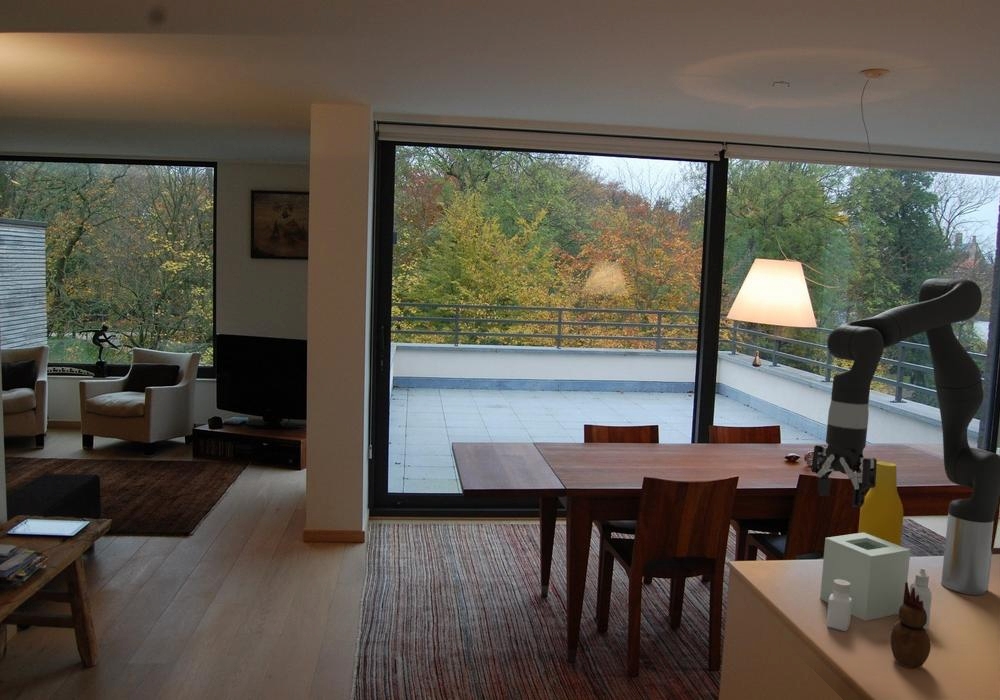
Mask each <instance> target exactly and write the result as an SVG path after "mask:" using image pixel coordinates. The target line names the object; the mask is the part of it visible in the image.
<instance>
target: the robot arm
mask: <svg viewBox="0 0 1000 700" xmlns="http://www.w3.org/2000/svg"><path fill="white" fill-rule="evenodd" d="M982 300H983V294H982V291H981V288H980V286H979V284H977V283H976V282H974V281H973V280H969V279H965V278H943V277H941V278H938V277H936V278H934V277H933V278H928V279H926V280H925V281H924V282H923V283H922V284H921V286H920V288H919V291H918V302H916V303H910V304H904V305H900V306H896V307H893V308H889V309H888V310H885V311H882V312H881V313H879V314H877V315H874V316H871V317H868V318H862V319H858V320H854V321H849V322H846V323H843V324H842V323H841V324H840V325H838V326H837V327H835V328H834V329H833V330H832V331H831V333H830V334H829V335H828V338H827V350H828V351H829V352H830V354H831V355H832V356H834V357H835V358H837V359H840V360H845V361H852V362H853V364H852V366H851V367H850V369H849V370H848V371H841V372H837V373H835V374H834V376H833V379H832V387H831V398H830V403H829V408H828V415H827V424H826V425H827V427H826V438H825V443H826V444H827V445H826V444H816V445H815V446H814V447H813V454H812V460H811V461H812V462H811V467H810V470H811V472H812V473H815V474H816V475H817V478H818V483H817V491H818V495H819V496H822V497H827V496H829V495H830V489H831V487H830V486H831V478H830V476H831V475H833V473H834V472H840V473H842V474H843V475H846V476H847V478H848V479H849V480H851V483H852V485H853V490H852V499H851V507H854V508H861V506H862V505H863V504H864V500H865V496H866V490H868V489H870V488H874V487H875V485H876V465H877V462H878V461H877V458H875V457H864V453H863V452H864V449H865V448H866V444H867V437H868V436H867V434H868V426H869V402H870V394H871V393H870V392H871V390H870V389H871V383H872V380H873V379H874V376H875V374H876V371H877V369H878V367H879V363H880V360H881V359H882V356H883V353H884V349H886V348H890V347H892V346H894V345H897V344H899V343H900V342H903V341H906V340H907V339H909V338H912V337H914V336H916V335H919V334H921V333H924V332H925V335H926V338H927V343H928V347H929V351H930V358H931V364H932V368H933V377H934V384H935V385H934V386H935V391H936V398H937V402H938V407H939V413H940V420H941V429H942V431H941V432H942V444H943V445H942V448H943V449H942V450H943V466H944V471H945V476H946V477H947V479H948V480H949V481H950V483H953V484H956V485H958V486H961V487H962V486H963V487H966V488H970V489H972V494H971V497H969V498H962V499H961V498H959V499H955V500H954V499H953V500H951V501H950V502H949V506H948V514H947V522H946V523H947V525H946V533H945V543H944V552H943V562H942V572H941V582H940V583H941V585H942V586H943V587H945V588H947V589H949V590H952V591H955V592H958V593H962V594H967V595H973V596H974V595H975V596H977V595H984V594H986V593H987V590H989V584H990V576H991V575H990V573H991V564H992V556H993V551H992V549H991V548H992V541H993V539H992V538H993V530H994V521H995V515H996V512H997V509H998V506H999V501H1000V455H999V454H997V453H995V452H992V451H988V450H984V449H978V448H974V447H970V445H969V441H968V440H969V439H968V429H969V425H970V424H971V422H972V421H973V419H974V417H975V416H976V414H977V413H978V412H979V410H980V408H981V407H982V405H983V402H984V389H983V388H984V385H983V381H982V380H983V378H982V373H981V370H980V368H979V366H978V364H977V363H976V362H975V360H974V359H973V357H972V356H971V355H970V353H968V352H967V350H966V348H965V347H964V346H963V345H962V344H961V343H960V340H959V339H958V338H957V336H956V334H955V333H954V330H953V327H952V324H956V323H959V322H963V321H968V320H970V319H972V318H974V317H975V316H976V315H977V313H978V312H979V310H980V309H981V305H982V302H983V301H982ZM826 459H827V460H826Z"/></svg>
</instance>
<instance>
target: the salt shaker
mask: <svg viewBox="0 0 1000 700" xmlns="http://www.w3.org/2000/svg"><path fill="white" fill-rule="evenodd" d="M849 593H850V583H849V582H848V581H845V580H841V579H836V580H834V582H833V594H831V595H830V597H829V603H828V602H827V614H826V615H827V617H826V626H827V628H829V629H830V628H831V629H834V630H839V631H842V632H847V630H848V629H849V627H850V625H851V616H852V614H851V607H852V598H850V597H849Z"/></svg>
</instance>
